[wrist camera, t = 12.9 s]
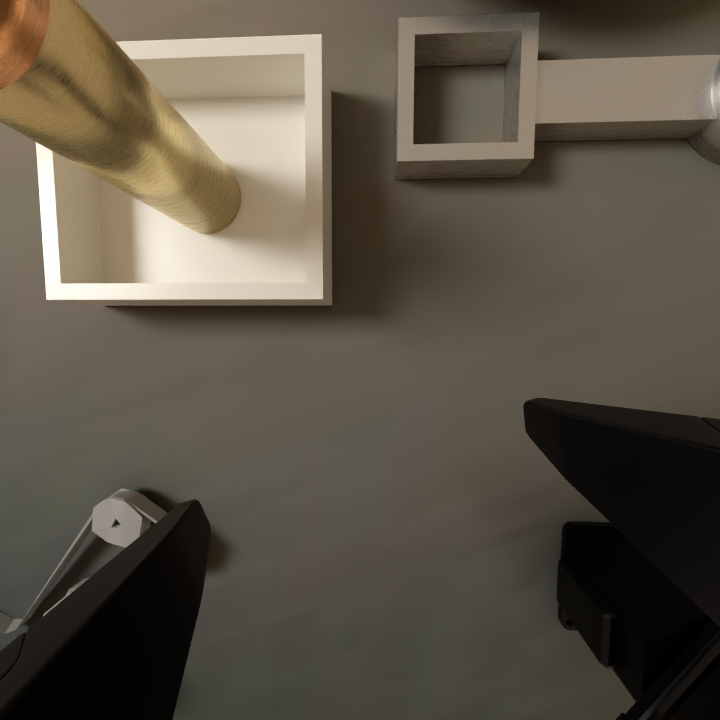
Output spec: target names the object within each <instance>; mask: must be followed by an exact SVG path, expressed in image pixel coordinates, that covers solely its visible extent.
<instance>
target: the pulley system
mask: <svg viewBox="0 0 720 720" xmlns="http://www.w3.org/2000/svg"><path fill="white" fill-rule="evenodd" d="M166 514H167V512H166V511H164V510H163V509H161V508H160V507H159V506H157V505H156V504H154V503H153V502H152V501H150V500H149V499H148V498H147V497H146V496H144V495H142V494H140V493H138V492H136V491H133V490H127V489H120V490H119V491H117V492H115V493H114V494H112V495H111V496H109V497H108V498H106V499H105V500H103V501H102V502H101V503H99V504H98V505H97V506H95V507H94V508H93V513H92V515H91V516H90V518H89V519H88V521H87V522H86V524H85V525H84V527H83V528H82V530H81V531H80V533H79V534H78V536H77V538H76V539H75V541H74V542H73V544H72V545H71V547H70V548H69V550H68V551H67V553H66V554H65V556H64V557H63V559H62V560H61V562H60V563H59V565H58V566H57V568H56V569H55V571H54V573H53V574H52V576H51V577H50V579H49V580H48V582H47V583H46V585H45V586H44V588H43V589H42V591H41V592H40V594H39V595H38V597H37V598H36V600H35V601H34V603H33V604H32V606H31V608H30V609H29V611H28V612H27V614H26V615H25V617H24V618H23V619H14V618H12V617H10V616H8V615H6V614H4V613H2V612H0V632H2V633H4V634H5V633H8V632H11V631H13V630H16V629H17V628H19V627H20V626H21V625H23V624H24V623H25V622H27V621H28V620H29V619H30V618H31V617H32V615H33V614H34V612H35V611H36V610H37V608H38V607H39V605H40V604H41V602H42V601H43V599H44V598H45V596H46V595H47V594H48V592H49V591H50V589H51V588H52V586H53V585H54V583H55V582H56V580H57V579H58V578H59V576H60V575H61V573H62V572H63V570H64V569H65V567H66V566H67V564H68V563H69V561H70V560H71V559H72V557H73V556H74V554H75V553H76V551H77V550H78V548H79V547H80V545H81V544H82V543H83V541H84V540H85V538H86V537H87V535H88V534H89V532H90V531H91V529H92V531H93V532H94V533H96V534H97V535H98V536H100V537H101V538H102V539H103V540H105V541H106V542H108V543H111V544H115V545H119V546H122V547H127V546H128V545H129V544H131V543H132V542H133V541H134V540H136V539H137V538H138V537H139V536H140V535H141V534H142V533H143V532H145V531H146V530H147V529H149V528H150V524H151V521H153V522H154V523H157V522H158V521H159V520H160V519H161V518H163V517H164V516H165V515H166ZM87 579H89V578H85V579H83V580H82V581H80V582H79V583H78V584H76V585H75V586H73V587H72V588H71V589H69V591H68V592H67V594H66V596H65V597H64V598H66V597H67V596H68V595H69V594H71V593H72V592H73V591H74V590H75V589H77V588H78V587H79V586H80V585H81V584H83V583H84V582H85V581H86V580H87ZM64 598H63V599H64ZM63 599H61V600H60V601H59V602H58V603H60V602H61V601H62V600H63ZM58 603H57V604H58ZM57 604H55V605H54V606H53V607H52V608H54V607H55V606H56V605H57ZM52 608H50V609H49V610H48V611H47V612H46V613H48V612H49V611H50V610H51V609H52ZM46 613H44V615H45V614H46ZM44 615H43V616H44Z"/></svg>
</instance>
